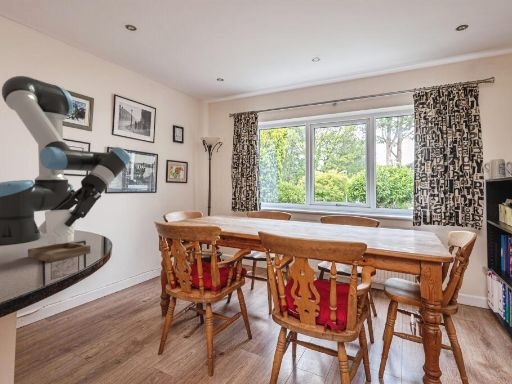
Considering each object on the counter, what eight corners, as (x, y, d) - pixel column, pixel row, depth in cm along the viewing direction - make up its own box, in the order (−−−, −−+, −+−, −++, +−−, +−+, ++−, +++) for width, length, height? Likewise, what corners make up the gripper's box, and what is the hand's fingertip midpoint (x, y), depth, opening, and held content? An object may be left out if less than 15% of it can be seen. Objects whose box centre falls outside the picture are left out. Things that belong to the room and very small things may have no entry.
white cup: (60, 245, 83) (59, 212, 82) (39, 244, 84) (38, 212, 84) (81, 240, 90) (81, 210, 90) (61, 238, 92) (61, 209, 91)
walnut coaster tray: (27, 257, 85) (27, 249, 84) (68, 248, 95) (68, 241, 95) (50, 262, 80) (50, 254, 79) (90, 252, 90) (90, 245, 90)
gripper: (124, 188, 96) (78, 243, 82) (86, 187, 105) (39, 236, 91) (110, 173, 91) (59, 228, 77) (72, 173, 100) (20, 223, 86)
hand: (49, 232), depth 84 cm, fingers closed on white cup, 8 cm apart
